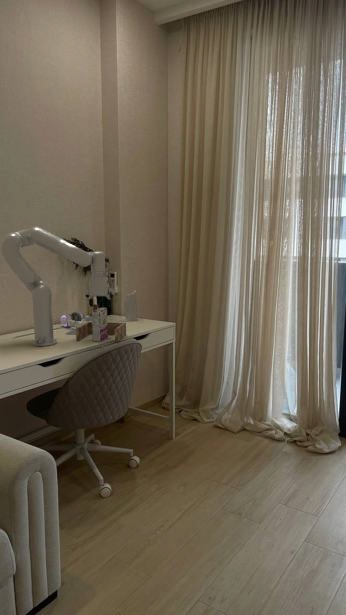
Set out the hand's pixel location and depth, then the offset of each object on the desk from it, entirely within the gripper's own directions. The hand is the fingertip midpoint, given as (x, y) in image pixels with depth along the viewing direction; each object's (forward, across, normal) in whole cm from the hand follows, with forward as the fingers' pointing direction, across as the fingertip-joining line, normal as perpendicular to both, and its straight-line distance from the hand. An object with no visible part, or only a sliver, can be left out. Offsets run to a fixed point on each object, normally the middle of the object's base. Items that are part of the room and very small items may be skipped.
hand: (100, 306), depth 244 cm
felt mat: (+18, +21, -15) cm, 31 cm away
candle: (+19, +1, -55) cm, 58 cm away
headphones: (+18, +24, -32) cm, 44 cm away
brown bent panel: (+18, +1, -2) cm, 18 cm away
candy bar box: (+18, +1, 0) cm, 18 cm away
